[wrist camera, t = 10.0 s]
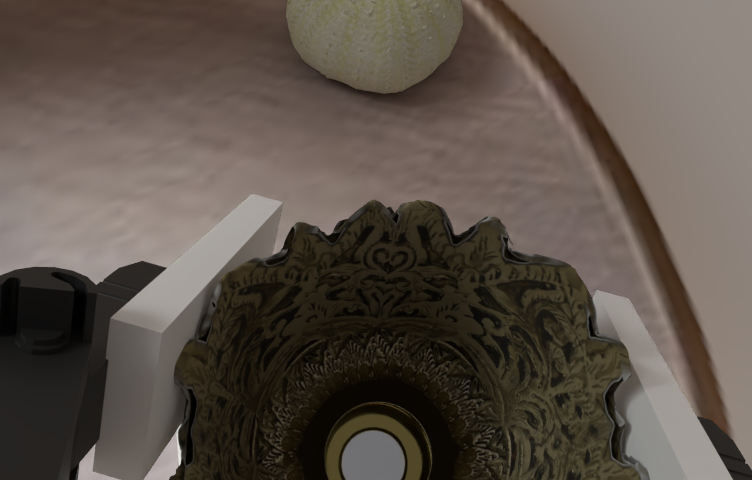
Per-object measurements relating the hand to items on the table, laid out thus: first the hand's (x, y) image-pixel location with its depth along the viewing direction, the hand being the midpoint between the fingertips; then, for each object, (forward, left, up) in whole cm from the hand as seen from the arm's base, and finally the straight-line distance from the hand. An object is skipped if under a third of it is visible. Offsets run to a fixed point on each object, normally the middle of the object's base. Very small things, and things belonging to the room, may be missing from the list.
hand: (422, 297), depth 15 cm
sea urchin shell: (-19, +3, -14) cm, 24 cm away
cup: (+3, -2, -4) cm, 5 cm away
